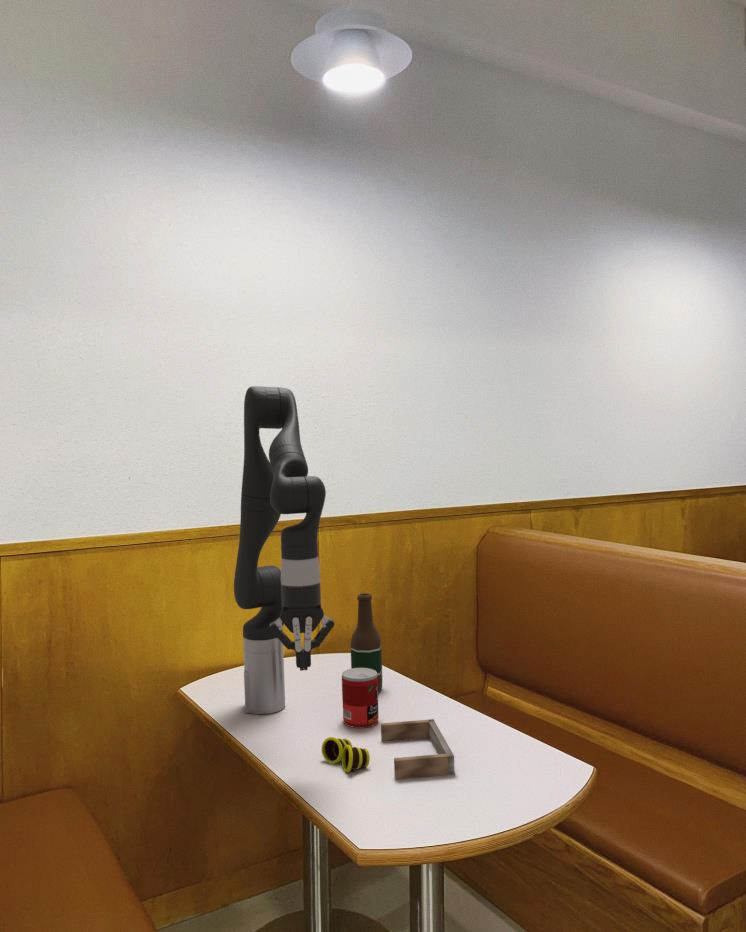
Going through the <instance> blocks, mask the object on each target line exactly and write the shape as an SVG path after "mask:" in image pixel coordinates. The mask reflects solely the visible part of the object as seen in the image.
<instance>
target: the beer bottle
mask: <svg viewBox="0 0 746 932" xmlns="http://www.w3.org/2000/svg"><path fill="white" fill-rule="evenodd" d="M356 599H357V600H358V605H357V606H358V607H357V625H356V629H355V630H354V632H353V633H352V637H351V639H350V669H352V668H369V669H373V670H375V671H376V672H377V677H378V694H379V693H380V692H381V691H382V688H383V659H382V657H383V655H382V648H383V647H382V639H381V635H380V632H379V631H378V629H377V628H376V626H375V623H374V618H373V607H372V599H373V596H372V594H370V593H368V592H366V593H363V592H362V593H359V594H358V595H357V598H356Z"/></svg>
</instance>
